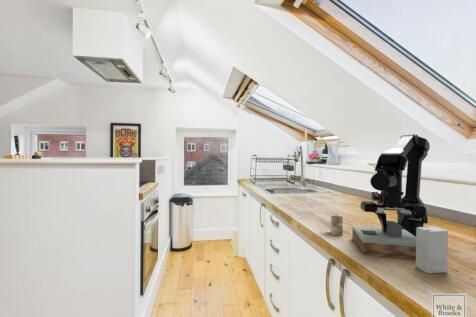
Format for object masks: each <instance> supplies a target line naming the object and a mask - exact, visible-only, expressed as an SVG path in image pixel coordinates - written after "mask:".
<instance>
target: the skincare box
mask: <svg viewBox="0 0 476 317" xmlns="http://www.w3.org/2000/svg"><path fill="white" fill-rule="evenodd" d="M448 236H449V232H448V230H446V229H444V228H440V227H438V226H437V227H436V226H423V227H417V228H416V259H415V267H416V268H418V269H419V270H421V271H423V272H425V273H427V274H442V273H447V272H448V241H449V240H448V239H449V237H448Z"/></svg>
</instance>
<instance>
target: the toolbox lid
mask: <svg viewBox="0 0 476 317" xmlns="http://www.w3.org/2000/svg"><path fill="white" fill-rule="evenodd" d="M352 229H353V230H354V232H355V233H356V234H357V235H358V237H359V238H360V239H361V240H362V242H366V243H378V244H390V245H403V246H415V247H416V237H415V236H414V235H412V234H411V233H409V232H408V231H406V230H405V229H402V226H401V225H400V224H398V223H397V221H395V220H386V232H384V231H383V228H382V227H374V226H362V225H361V226H360V225H359V226H358V225H352ZM363 233H365V234H375V235H364V234H363Z"/></svg>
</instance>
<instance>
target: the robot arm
mask: <svg viewBox="0 0 476 317" xmlns="http://www.w3.org/2000/svg"><path fill="white" fill-rule="evenodd" d="M430 146H431V145H430V142H429V141H428V139H426V137H425V138H424V137H421V136H419V135H418V134H416V133H408V134H407V133H406V134H405V133H404V134H402V135H400V139H398V141H397V142H396V144H395V145H394V146H393V147H392V148H390V149H386V150H383V152H381V153H380V155H379V157H378V158H377V162H376V165H375V168H374V172H376V173H375V174H373V175H372V176H371V179H370V180H369V181H370V185H371V187H372V188H373V189H375V190H376V191H372V192H371V201H368V200H367V201H366V200H363V201H361V202H360V210H362V211H364V212H365V213H374V214H375V215H377V218H378V220H379V222H380V225H381V226H380V227H381V228H383V231H384V232H386V221H387V213H385V211H396V215H397V221H396V222H397V223H398V224H400V225H401V226H402V229H405V230H406V231H408V232H409V233H411V234H412V235H414V236H415V237H416V228H417V227H424V224H428V223H429V219H428V218H429V217H428V215H427V214H428V213H427V212H428V210H427V208H426V206H425V203H424V202H423V200H422V199H421V198H420V192H421V179H422V178H421V177H422V176H421V175H422V164H423V161H424V160H425V159H426V157H427V156H428V152H429V151H430ZM406 167H407V169H406ZM405 169H406V181H405V191H403V172H404V171H405ZM379 191H380V193H379ZM404 192H405V193H404ZM402 196H403V197H402ZM374 201H375V202H374Z"/></svg>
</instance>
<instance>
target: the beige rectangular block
mask: <svg viewBox="0 0 476 317" xmlns="http://www.w3.org/2000/svg"><path fill="white" fill-rule="evenodd" d="M343 218H344V217H343V215H342V214H341V213H333V212H332V213H330V233H331V236H341V237H342V236H343V233H344V231H343V227H344V226H343V222H344V221H343Z"/></svg>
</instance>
